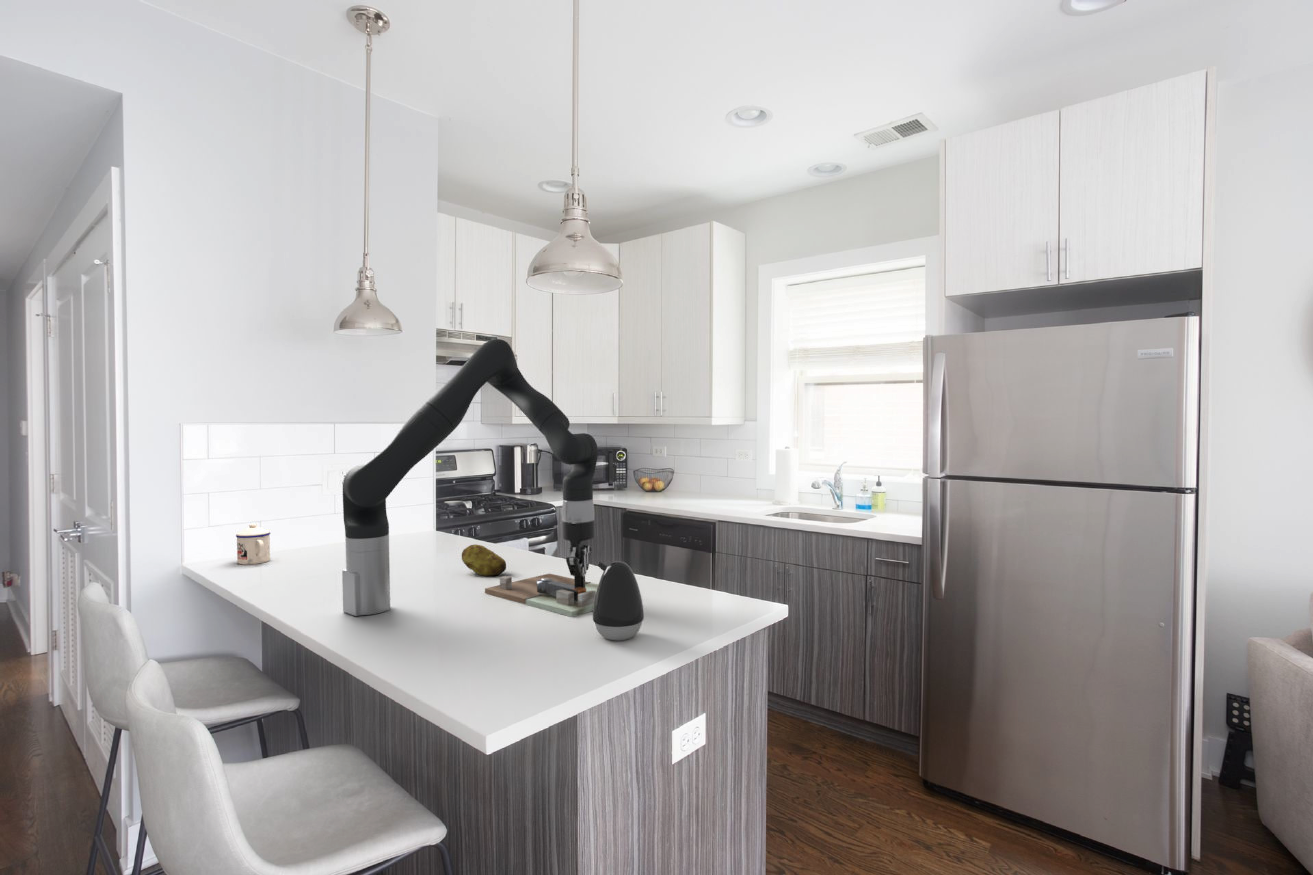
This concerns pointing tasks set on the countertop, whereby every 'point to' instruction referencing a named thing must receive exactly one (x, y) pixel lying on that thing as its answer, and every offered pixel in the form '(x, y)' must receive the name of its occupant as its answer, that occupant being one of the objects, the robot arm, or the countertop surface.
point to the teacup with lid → (253, 545)
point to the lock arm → (557, 587)
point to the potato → (483, 560)
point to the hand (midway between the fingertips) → (580, 591)
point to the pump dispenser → (617, 602)
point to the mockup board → (546, 595)
